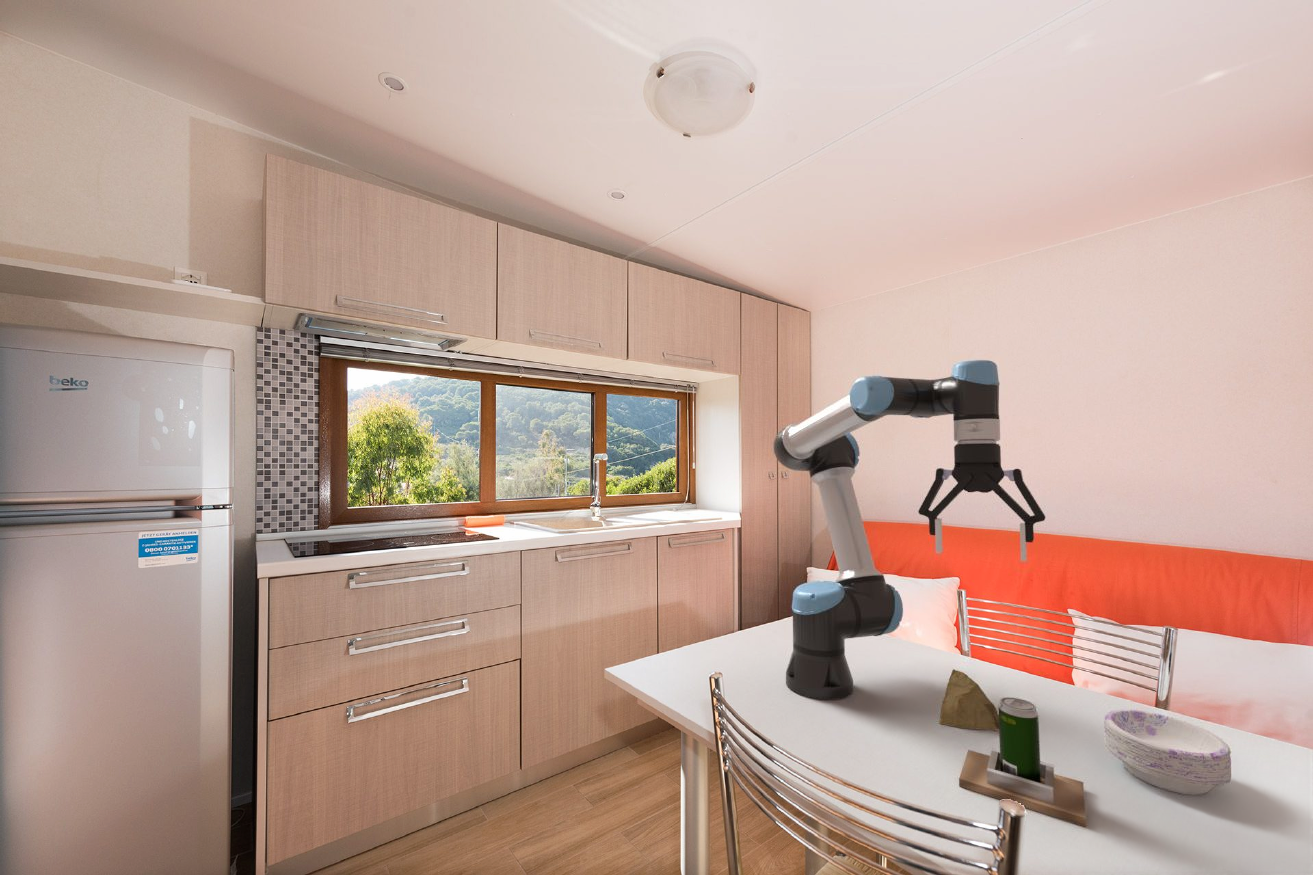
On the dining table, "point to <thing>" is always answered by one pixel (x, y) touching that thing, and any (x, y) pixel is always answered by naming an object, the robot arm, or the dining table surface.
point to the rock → (967, 705)
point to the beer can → (1019, 738)
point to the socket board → (1025, 787)
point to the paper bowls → (1168, 751)
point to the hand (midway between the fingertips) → (979, 556)
